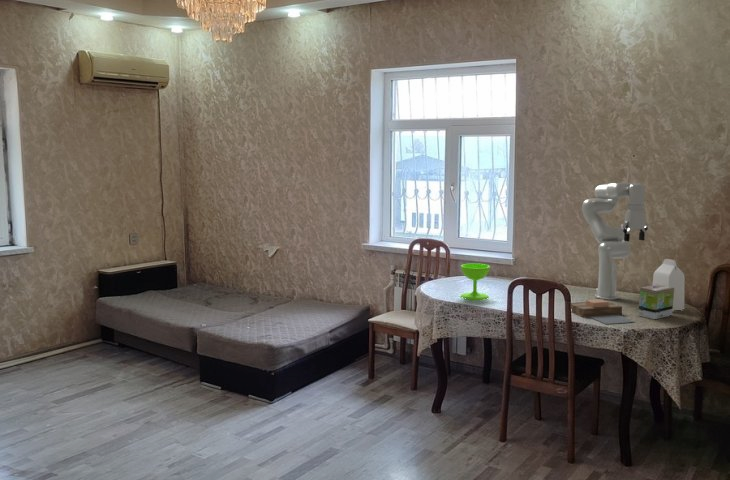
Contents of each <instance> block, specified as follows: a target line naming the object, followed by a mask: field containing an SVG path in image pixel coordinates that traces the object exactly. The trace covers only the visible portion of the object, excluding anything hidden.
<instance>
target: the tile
mask: <svg viewBox="0 0 730 480" xmlns="http://www.w3.org/2000/svg"><path fill="white" fill-rule="evenodd" d="M585 302H586V305H587V306H590V307H592V308H596V307H609V302H610V301H608V300H606V299H599V298H597V299H586V301H585Z"/></svg>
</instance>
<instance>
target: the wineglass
mask: <svg viewBox="0 0 730 480" xmlns="http://www.w3.org/2000/svg"><path fill="white" fill-rule="evenodd" d="M460 268H461V271H462V274H463V275H464V277H465V278H467V279H469V280H471V281H472V280H473V281H472V283H473V285H472V286H473V288H472V292H465V293H462V294H461V295H460V298H461V297H463V298H466V299H471V300H470V301H473V300H481V301H483V300H482V299H487V298H489V299H490V297H489V295H488V294H485V293H481V292H478V289H477V287H478V285H477V283H478V281H479V280H482V279H484V278H485V277H486V276H487V275H488V274H489V271H490V268H491V266H490V265H489V264H485V263H464V264H461V265H460ZM487 300H488V299H487Z"/></svg>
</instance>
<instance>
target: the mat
mask: <svg viewBox="0 0 730 480" xmlns="http://www.w3.org/2000/svg"><path fill="white" fill-rule="evenodd" d="M589 318H590V319H593V320H595V321H597V322H599V323H601V324H604V325H607V326H608V325H618V324H619V323H621V324H631V323H630V322H635V323H636V321H635V320H632V319H630V318H626V317H625V316H622V315H605V316H590V317H589Z"/></svg>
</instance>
